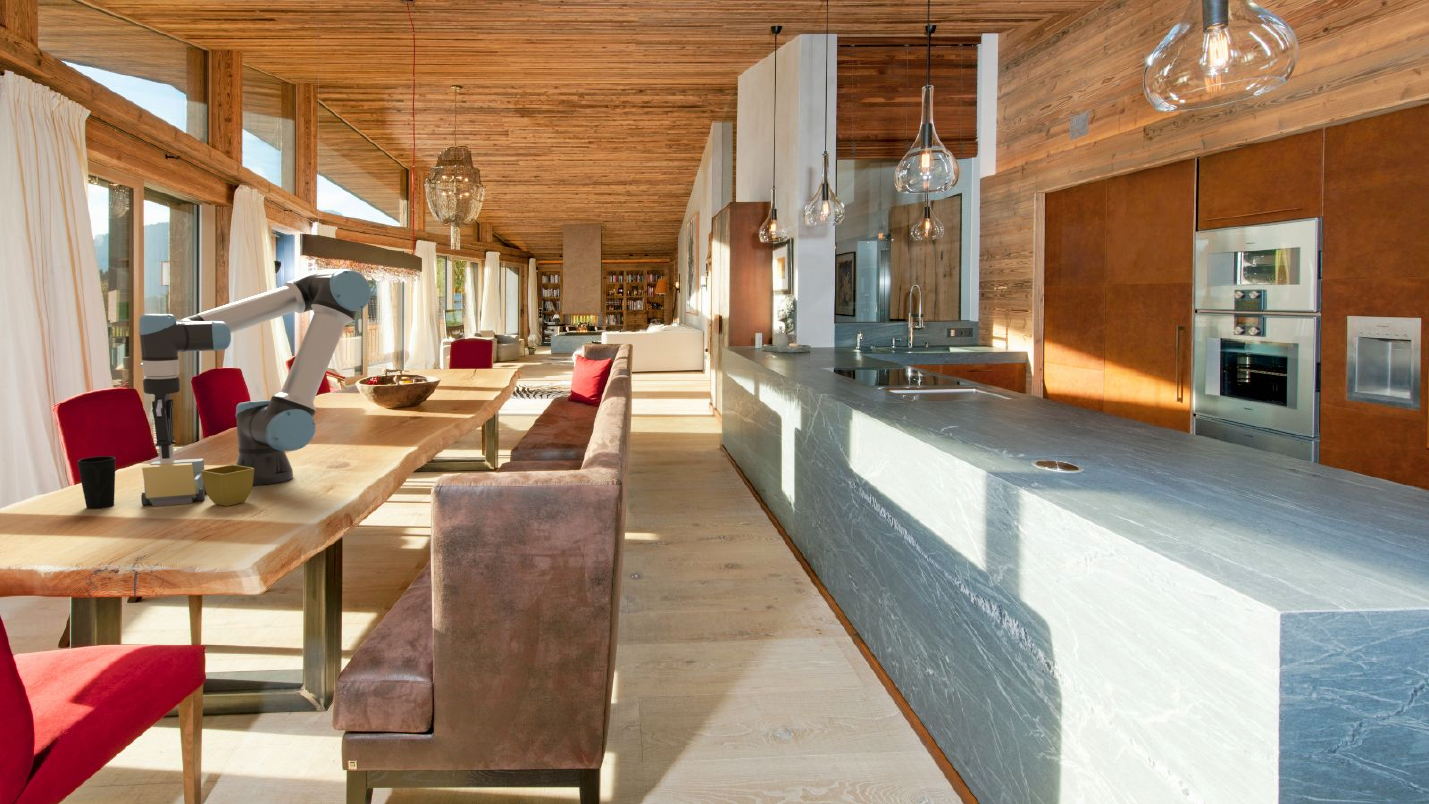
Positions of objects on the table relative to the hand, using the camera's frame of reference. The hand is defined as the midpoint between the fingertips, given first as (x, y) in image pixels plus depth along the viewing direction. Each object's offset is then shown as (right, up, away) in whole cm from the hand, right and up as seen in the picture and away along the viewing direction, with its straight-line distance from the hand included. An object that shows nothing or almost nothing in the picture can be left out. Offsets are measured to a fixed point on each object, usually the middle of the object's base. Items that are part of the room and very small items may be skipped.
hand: (167, 470), depth 207 cm
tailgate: (0, -7, +2) cm, 7 cm away
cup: (-17, -9, 0) cm, 19 cm away
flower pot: (+13, -9, +5) cm, 16 cm away
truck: (-3, -8, +8) cm, 12 cm away
